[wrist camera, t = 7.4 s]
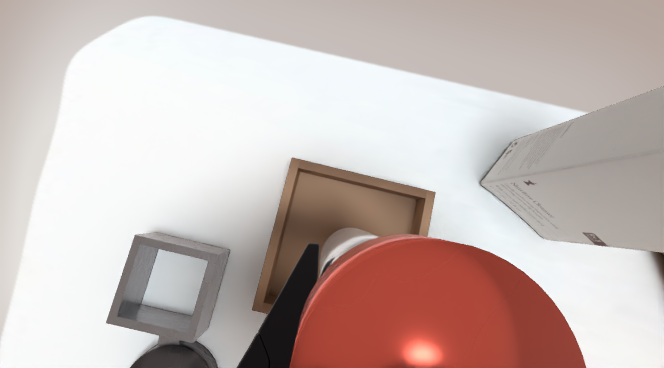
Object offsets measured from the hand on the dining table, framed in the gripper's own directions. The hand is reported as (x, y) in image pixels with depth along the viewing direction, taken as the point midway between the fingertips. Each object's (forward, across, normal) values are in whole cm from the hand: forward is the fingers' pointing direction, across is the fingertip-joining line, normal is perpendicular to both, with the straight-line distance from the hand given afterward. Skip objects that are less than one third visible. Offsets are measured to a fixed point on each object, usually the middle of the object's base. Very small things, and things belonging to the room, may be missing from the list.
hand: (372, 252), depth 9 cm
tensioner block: (+3, +13, +16) cm, 21 cm away
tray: (+9, 0, +10) cm, 13 cm away
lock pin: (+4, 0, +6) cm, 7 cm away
